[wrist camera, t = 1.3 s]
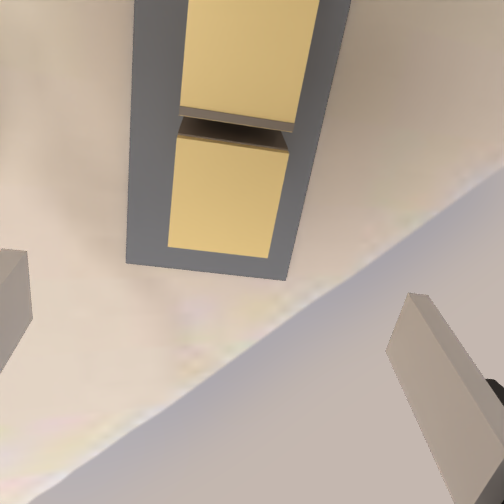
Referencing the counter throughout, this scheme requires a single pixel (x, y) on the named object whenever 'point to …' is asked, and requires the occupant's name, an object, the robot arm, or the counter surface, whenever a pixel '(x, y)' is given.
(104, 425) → the counter surface
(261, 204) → the stub
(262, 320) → the counter surface
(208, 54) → the tall yellow box
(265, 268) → the mat
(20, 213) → the counter surface
